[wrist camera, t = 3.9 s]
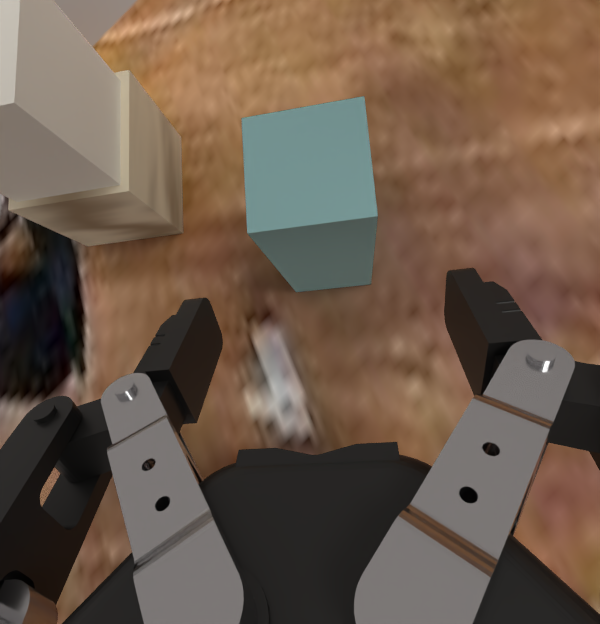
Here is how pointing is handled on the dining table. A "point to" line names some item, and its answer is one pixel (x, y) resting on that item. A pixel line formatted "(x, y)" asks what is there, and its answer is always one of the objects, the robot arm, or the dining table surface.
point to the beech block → (124, 183)
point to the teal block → (312, 193)
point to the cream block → (54, 106)
